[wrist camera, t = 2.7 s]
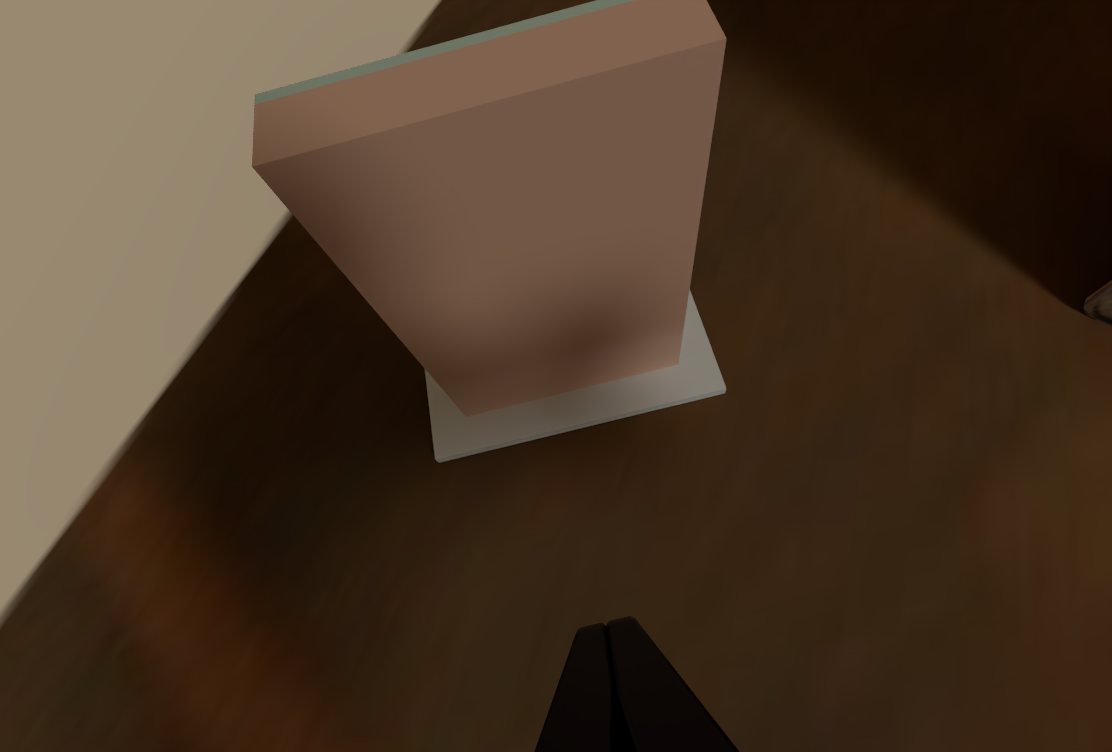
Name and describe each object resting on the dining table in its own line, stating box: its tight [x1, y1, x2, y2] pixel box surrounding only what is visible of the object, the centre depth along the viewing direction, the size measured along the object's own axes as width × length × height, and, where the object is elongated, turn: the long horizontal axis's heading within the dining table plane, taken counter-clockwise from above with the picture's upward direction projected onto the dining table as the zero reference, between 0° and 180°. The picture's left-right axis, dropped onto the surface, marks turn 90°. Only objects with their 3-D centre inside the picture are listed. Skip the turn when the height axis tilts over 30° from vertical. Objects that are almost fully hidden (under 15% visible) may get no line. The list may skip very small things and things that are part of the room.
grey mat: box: [425, 289, 726, 463], centre depth 26 cm, size 12×18×1 cm, turn 12°
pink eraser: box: [252, 0, 727, 417], centre depth 17 cm, size 9×2×14 cm, turn 102°
